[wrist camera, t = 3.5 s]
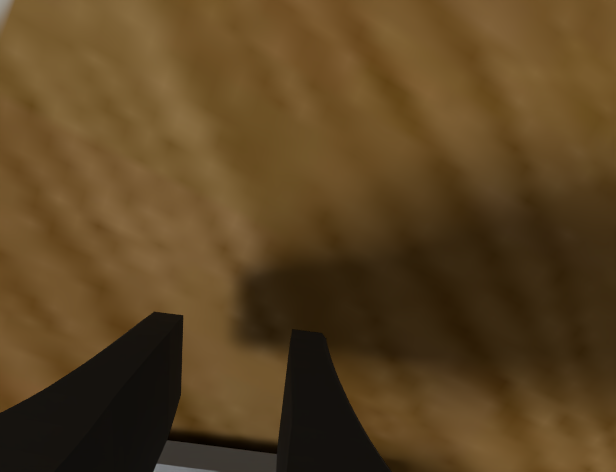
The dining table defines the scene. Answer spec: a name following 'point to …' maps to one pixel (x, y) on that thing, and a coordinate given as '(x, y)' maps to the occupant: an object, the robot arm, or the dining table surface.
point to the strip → (212, 459)
